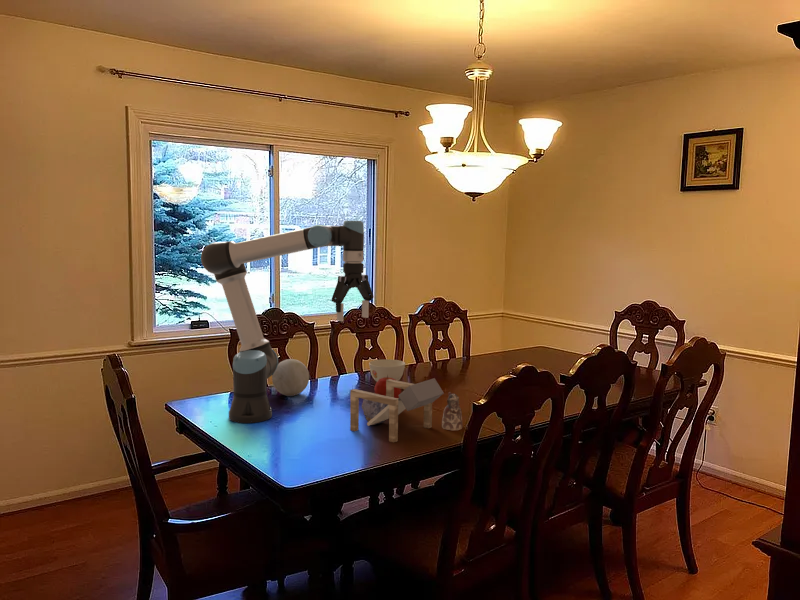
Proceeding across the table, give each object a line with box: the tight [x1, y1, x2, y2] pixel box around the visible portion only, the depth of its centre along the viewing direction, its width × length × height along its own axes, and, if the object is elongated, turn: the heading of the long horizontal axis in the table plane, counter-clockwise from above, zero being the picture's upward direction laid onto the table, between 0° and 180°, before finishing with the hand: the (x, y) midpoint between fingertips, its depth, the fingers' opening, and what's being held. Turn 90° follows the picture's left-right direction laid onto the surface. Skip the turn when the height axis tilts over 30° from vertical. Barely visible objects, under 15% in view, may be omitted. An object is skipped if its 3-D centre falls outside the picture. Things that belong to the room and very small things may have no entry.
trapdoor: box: [366, 377, 445, 427], centre depth 209 cm, size 16×23×6 cm
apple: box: [373, 375, 402, 398], centre depth 235 cm, size 10×10×14 cm
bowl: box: [368, 358, 406, 382], centre depth 274 cm, size 16×16×10 cm
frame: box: [349, 379, 433, 443], centre depth 213 cm, size 21×19×14 cm
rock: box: [361, 399, 388, 426], centre depth 219 cm, size 11×10×10 cm
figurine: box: [441, 391, 463, 432], centre depth 216 cm, size 7×7×12 cm
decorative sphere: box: [271, 358, 310, 397], centre depth 255 cm, size 15×15×15 cm
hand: (352, 319), depth 233 cm, fingers open, 13 cm apart
